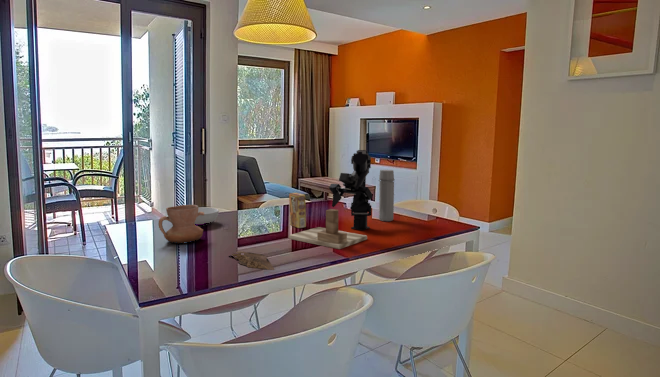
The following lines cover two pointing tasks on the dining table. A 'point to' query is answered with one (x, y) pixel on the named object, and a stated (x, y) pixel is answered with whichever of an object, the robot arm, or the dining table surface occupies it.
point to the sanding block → (332, 229)
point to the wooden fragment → (253, 260)
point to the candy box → (297, 210)
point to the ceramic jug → (182, 224)
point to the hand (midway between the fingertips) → (341, 207)
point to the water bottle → (386, 195)
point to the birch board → (311, 237)
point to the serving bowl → (206, 215)
